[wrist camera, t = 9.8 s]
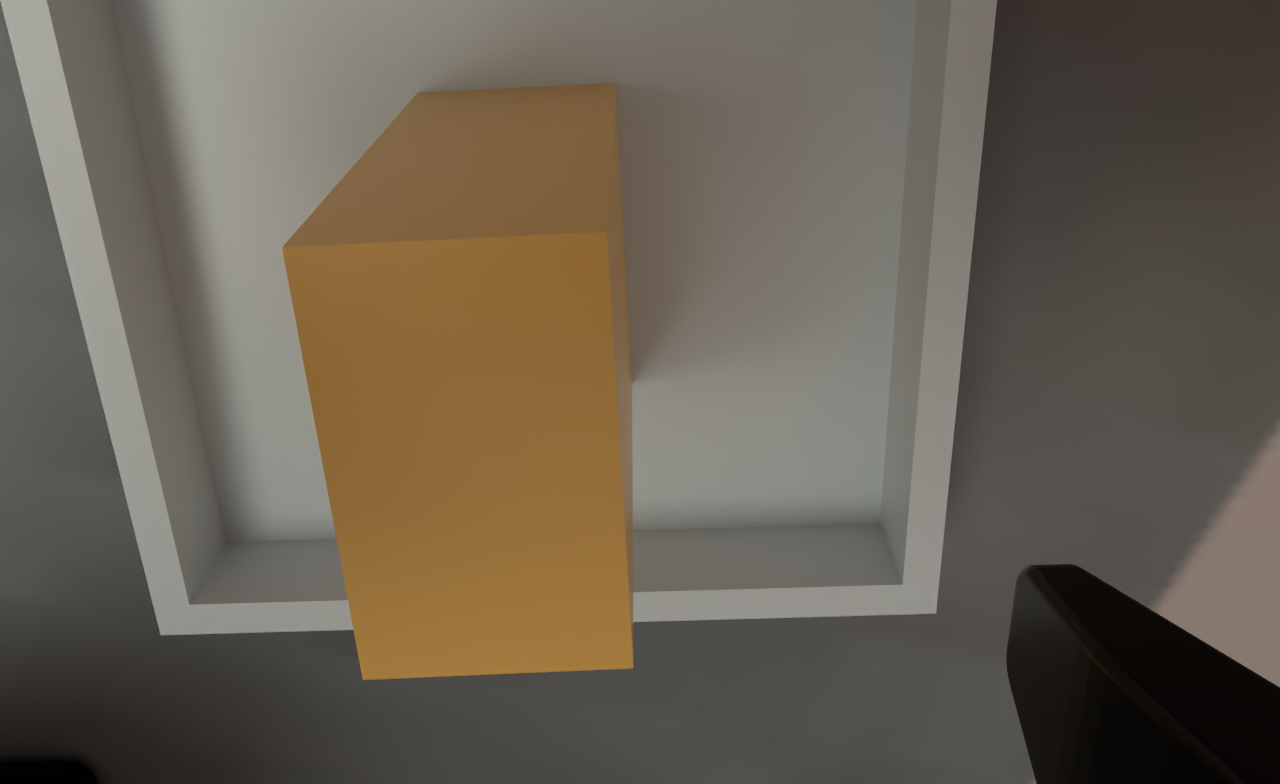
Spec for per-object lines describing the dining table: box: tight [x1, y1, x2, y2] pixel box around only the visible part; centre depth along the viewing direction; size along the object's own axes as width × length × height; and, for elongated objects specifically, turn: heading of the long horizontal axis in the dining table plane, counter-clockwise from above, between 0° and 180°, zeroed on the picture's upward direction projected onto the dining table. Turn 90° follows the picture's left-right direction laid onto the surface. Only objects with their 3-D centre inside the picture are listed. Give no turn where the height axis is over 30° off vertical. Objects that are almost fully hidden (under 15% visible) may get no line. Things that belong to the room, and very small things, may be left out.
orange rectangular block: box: [282, 83, 634, 680], centre depth 15 cm, size 3×5×8 cm, turn 3°
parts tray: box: [0, 0, 997, 635], centre depth 18 cm, size 13×12×2 cm
